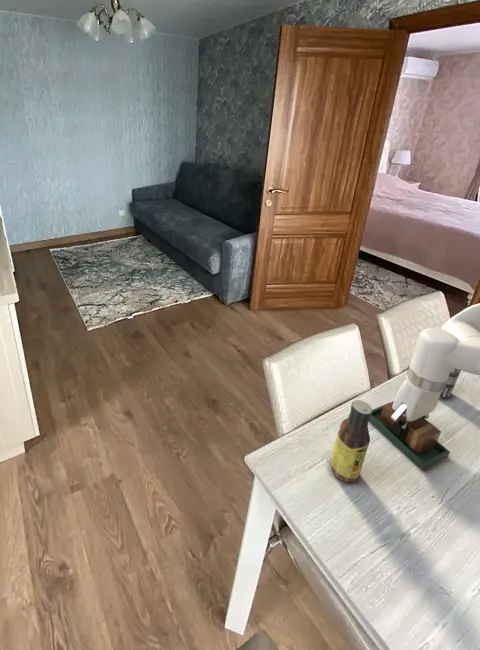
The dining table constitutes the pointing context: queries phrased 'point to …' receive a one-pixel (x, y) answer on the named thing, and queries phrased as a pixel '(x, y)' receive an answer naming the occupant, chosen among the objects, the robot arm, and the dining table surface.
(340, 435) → the sauce bottle
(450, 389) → the beverage can
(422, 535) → the dining table surface
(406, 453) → the tray
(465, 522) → the dining table surface
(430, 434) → the walnut box
